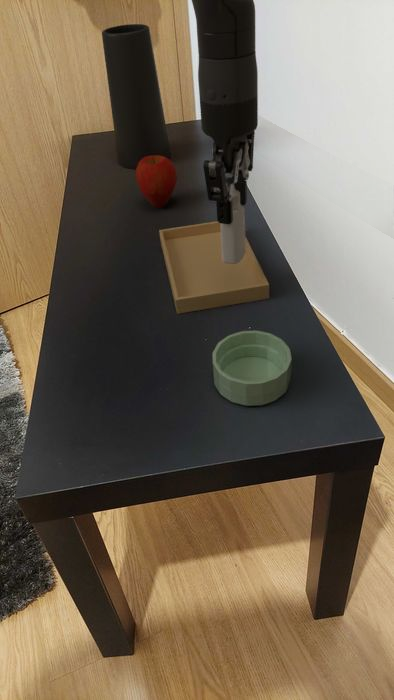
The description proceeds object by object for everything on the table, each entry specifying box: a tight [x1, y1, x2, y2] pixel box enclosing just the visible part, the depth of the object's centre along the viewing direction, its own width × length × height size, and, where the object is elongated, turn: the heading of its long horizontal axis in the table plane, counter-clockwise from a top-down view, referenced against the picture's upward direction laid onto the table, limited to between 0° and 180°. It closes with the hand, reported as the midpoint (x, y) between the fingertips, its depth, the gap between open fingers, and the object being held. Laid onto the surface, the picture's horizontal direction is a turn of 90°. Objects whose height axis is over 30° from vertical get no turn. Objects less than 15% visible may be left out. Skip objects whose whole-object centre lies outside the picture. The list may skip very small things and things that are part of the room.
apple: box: [135, 155, 178, 209], centre depth 107 cm, size 9×8×11 cm
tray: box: [158, 221, 270, 315], centre depth 90 cm, size 23×15×3 cm, turn 10°
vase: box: [101, 23, 172, 170], centre depth 122 cm, size 14×14×29 cm
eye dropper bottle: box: [220, 185, 246, 264], centre depth 78 cm, size 4×6×12 cm
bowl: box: [212, 330, 293, 407], centre depth 68 cm, size 10×10×4 cm
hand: (232, 212), depth 77 cm, fingers closed on eye dropper bottle, 5 cm apart
